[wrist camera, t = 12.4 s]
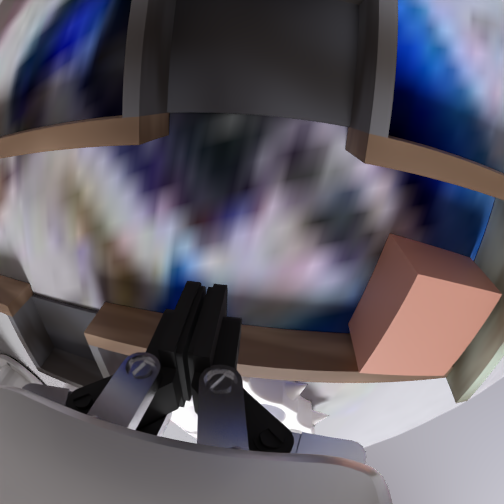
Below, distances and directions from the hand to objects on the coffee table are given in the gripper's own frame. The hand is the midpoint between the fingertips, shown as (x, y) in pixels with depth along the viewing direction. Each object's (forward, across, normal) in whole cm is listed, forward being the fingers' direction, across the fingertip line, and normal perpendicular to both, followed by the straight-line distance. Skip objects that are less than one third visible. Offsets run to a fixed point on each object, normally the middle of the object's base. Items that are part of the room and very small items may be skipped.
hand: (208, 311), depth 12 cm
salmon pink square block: (+5, -12, +2) cm, 13 cm away
